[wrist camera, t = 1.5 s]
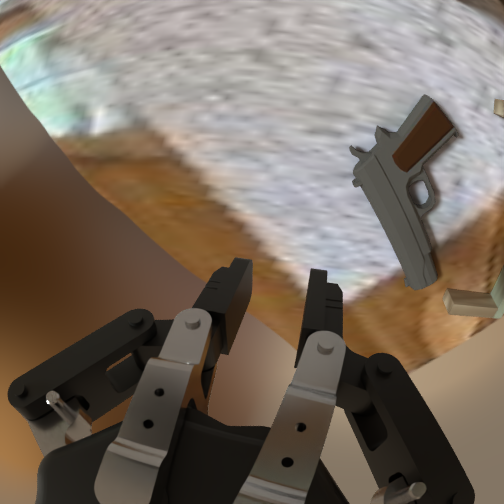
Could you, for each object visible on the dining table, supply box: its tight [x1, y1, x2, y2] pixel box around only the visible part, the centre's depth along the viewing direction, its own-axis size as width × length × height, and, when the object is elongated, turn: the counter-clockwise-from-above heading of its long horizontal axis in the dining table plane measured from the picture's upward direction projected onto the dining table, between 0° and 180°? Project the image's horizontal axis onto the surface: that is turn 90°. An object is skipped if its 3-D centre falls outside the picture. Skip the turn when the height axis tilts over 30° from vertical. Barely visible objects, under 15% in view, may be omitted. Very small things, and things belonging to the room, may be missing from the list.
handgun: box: [349, 94, 459, 290], centre depth 23 cm, size 3×18×12 cm
